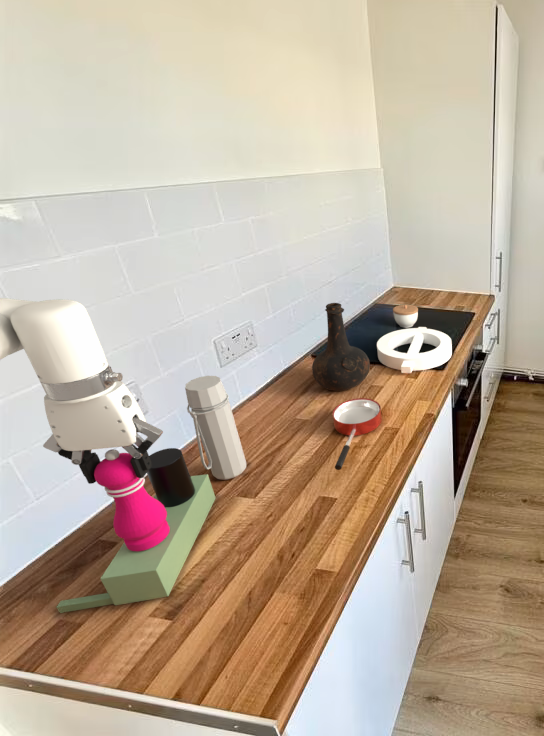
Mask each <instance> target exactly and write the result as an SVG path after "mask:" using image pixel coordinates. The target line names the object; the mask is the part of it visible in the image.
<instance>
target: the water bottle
mask: <svg viewBox="0 0 544 736" xmlns="http://www.w3.org/2000/svg"><path fill="white" fill-rule="evenodd" d="M184 389H185V394H186V400H187V407H186V410H187V413H188V414H189V415H190V417H191V418H192V421H193V426H194V431H195V434H196V435H195V436H196V441H197V446H198V452H199V458H200V462H201V464H202V466H203V468H204V469H205V470H210V471H211V474H212V476H213V477H214V478H216V479H217V480H224V481H225V480H231V479H235V478H237V477H238V476H240V475H242V473H243V472H244V471H245V470H246V469H247V461H246V457H245V453H244V450H243V449H244V448H243V446H242V443H241V439H240V435H239V431H238V428H237V425H236V421H235V417H234V414H233V410H232V406H231V403H230V400H229V397H230V395H229V394H228V393H227V391H226V389H225V386H224V384H223V382H222V379H221V378H220V377H219V376H217V375H205V376H199V377H196V378H194V379H191V380H190V381H188V382H187V383H185V387H184ZM190 409H191V410H190ZM202 446H203V447H202ZM203 450H204V453H205V456H206V459H207V462H208V465H207V464H206V462H205V458H204V453H203Z"/></svg>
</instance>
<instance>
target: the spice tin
mask: <svg viewBox="0 0 544 736" xmlns="http://www.w3.org/2000/svg"><path fill="white" fill-rule="evenodd" d="M149 457H150V460H151V462H152V466H151V468H150V469H149V470H148V472H147V473H146V475H147V477H148V480H149V482H150V484H151V486H152V489H153V492H154V495H155V494H156V496H157V499H158V501H160V502H161V503H162V504H163V505H164V507H174V506H178V505H181V504H183V503H185V502H186V501H188V500H189V499H191V498H192V497H193V495H194V494H195V488H194V485H193V482H192V479H191V477H190V476H191V473H190V471H189V468H188V465H187V463H186V460H185V458H184V455H183V452H182V450H181V449H179V448H176V447H170V448H169V447H168V448H164V449H160V450H158V451H155V452H153V453H151V454H150V455H149Z"/></svg>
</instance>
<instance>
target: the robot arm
mask: <svg viewBox="0 0 544 736" xmlns="http://www.w3.org/2000/svg"><path fill="white" fill-rule="evenodd" d="M23 350H24V352H25V355H26V356H27V358H28V360H29V362H30V364H31V366H32V368H33V370H34V372H35V374H36V376H37V378H38V381H39V383H40V385H41V388H42V389H43V392H44V393H45V395H44V397H43V404H44V411H45V415H46V419H47V421H48V424H49V427H50V430H51V433H52V434H51V435H50V437H49V438H47V440H45V442H44V443H43V445H42V446H43V448H44V449H46V450H49V451H51V452H53V453H58V455H59V456H61V457H63V458H65V459H68V460H70V462H71V464H73V465H75V466H78V467H79V469H80V471H81V473H82V475H83V477H85V480H86V482H87V483H88V484H89V485H91V484H94V483H97V482H96V480H95V477H94V471H95V468H96V466H97V465H98V464H99V463H100V462H101V461H102V460H100V456H99V454H97V453H96V452H95V451H94V452H92V450H100V449H101V450H102V449H113V448H122V449H123V450H125V451H126V453H129V454H130V455H131V456H132V459H131V460H130V462H131V464H132V467H133V469H134V471H135V474H136V476H137V478H145V476H146V475H147V472H148V470H149V469H150V468H151V466H152V462H151V460H150V457H149V456H150V455H149V452H148V451H149V449H150V448H151V447H152V446H153V445H154V444H155V443H156V442H157V441H158V440H159V439H160V437H161V436H162V434H163V433H164V431H163V430H162V429H160V428H158V427H156V426H154V425H152V424H151V423H148V422H147V419H146V417H145V415H144V413H143V411H142V409H141V407H140V405H139V403H138V402H137V400H136V398H135V396H134V395H133V393H132V392H131V391H130V389H129V388H128V386H126V384H125V383H124V382H123V376H124V375H123V374H122V372H115V371H113V369H112V367H111V366H110V363H109V362H108V359H107V357H106V355H105V352H104V349H103V347H102V344H101V342H100V339H99V337H98V335H97V331H96V329H95V327H94V323H93V322H92V318H91V317H90V314H89V312H88V310H87V308H86V307H85V305H84V304H82V303H80V302H79V301H76V300H73V299H62V298H60V299H59V298H56V299H47V300H39V301H37V300H36V301H35V300H25V299H17V298H7V297H0V361H1V360H3V359H4V358H6V357H8V356H10V355H12V354H15V353H18V352H20V351H23ZM139 433H140V434H142V435H144V436H146V438H145V439H144V438H143V437H142V436H141V435H140V434H139Z"/></svg>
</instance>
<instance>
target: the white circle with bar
mask: <svg viewBox="0 0 544 736" xmlns="http://www.w3.org/2000/svg"><path fill="white" fill-rule="evenodd" d="M408 344H409V345H410V346H409V348H408V350H407V352H401V351H398V350H395V349H396V348H398V347H401V346H404V345H408ZM423 344H426V345H427V344H428V345H431V346H434V347H435V348H433V349H431V350H427V351H425V352H420V350H421V348H422V346H423ZM452 345H453V341H452V338H451V337H450V336H449V335H448V334H446V333H444V332H442V331H441V330H437V329H432V328H428V327H426V326H418V327H408V328H403V329H397V330H394V331H391V332H388V333H386V334H384V335H383V336H381V337H380V338H379V339H378V340H377V342H376V349H377V351H376V352H377V358H378V360H379V362H380V363H381V364H382V365H384V366H386V367H388V368H391V369H394V370H398V371H401V374H412V372H414V371H424V370H430V369H433V368H437V367H440V366H442V365H443V364H445V363H447V362H448V361H449V360H450V359H451V357H452V354H453V346H452Z"/></svg>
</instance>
